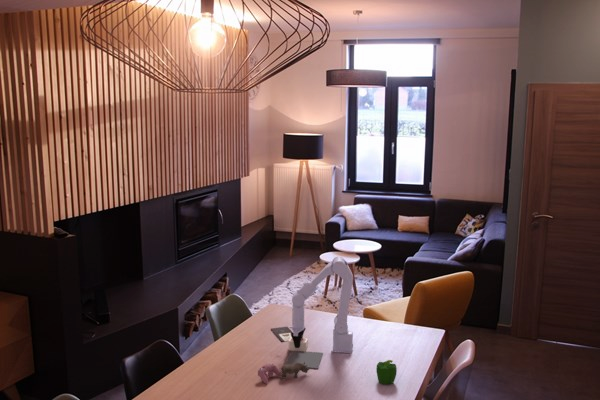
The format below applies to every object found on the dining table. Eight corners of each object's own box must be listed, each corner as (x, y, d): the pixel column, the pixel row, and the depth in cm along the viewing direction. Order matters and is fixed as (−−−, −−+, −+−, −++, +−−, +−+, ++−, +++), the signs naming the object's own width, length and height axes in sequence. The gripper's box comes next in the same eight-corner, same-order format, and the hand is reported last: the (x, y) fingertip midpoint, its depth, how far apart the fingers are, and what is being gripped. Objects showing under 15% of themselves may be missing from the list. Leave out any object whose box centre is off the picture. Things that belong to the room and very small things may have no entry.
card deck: (307, 347, 271) (307, 338, 270) (306, 351, 266) (306, 342, 266) (290, 346, 272) (290, 337, 272) (288, 350, 268) (288, 340, 267)
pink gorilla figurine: (275, 377, 242) (270, 361, 243) (282, 375, 239) (277, 359, 240) (259, 385, 234) (254, 369, 235) (267, 384, 232) (261, 367, 233)
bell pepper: (371, 382, 234) (372, 359, 233) (383, 376, 240) (384, 353, 239) (387, 389, 229) (388, 365, 227) (399, 382, 234) (400, 359, 233)
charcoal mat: (323, 353, 263) (323, 352, 263) (317, 369, 247) (317, 368, 247) (291, 351, 266) (291, 350, 266) (284, 366, 249) (284, 365, 249)
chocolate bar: (287, 326, 297) (298, 338, 280) (287, 328, 297) (298, 340, 280) (270, 328, 294) (281, 341, 277) (270, 330, 294) (281, 342, 277)
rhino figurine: (312, 376, 240) (312, 362, 239) (281, 381, 235) (281, 367, 235) (308, 372, 244) (308, 358, 243) (278, 377, 239) (278, 363, 238)
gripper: (292, 312, 275) (292, 339, 277) (287, 322, 261) (287, 350, 263) (307, 313, 274) (306, 339, 276) (302, 323, 260) (301, 351, 261)
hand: (298, 345), depth 269 cm, fingers closed on card deck, 5 cm apart
